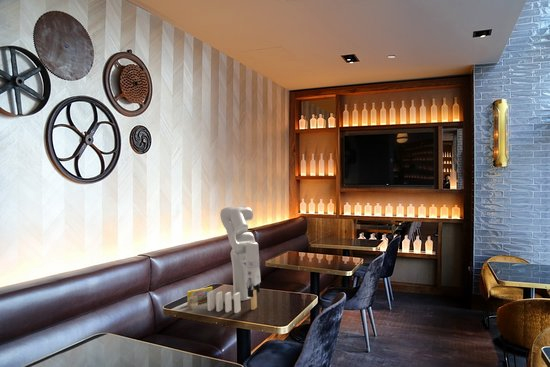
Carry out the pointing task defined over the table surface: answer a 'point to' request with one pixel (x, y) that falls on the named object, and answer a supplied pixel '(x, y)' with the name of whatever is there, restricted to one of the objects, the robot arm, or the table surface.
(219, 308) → the domino
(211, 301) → the domino
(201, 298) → the candy box
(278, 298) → the table surface
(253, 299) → the domino
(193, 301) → the end block
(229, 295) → the domino
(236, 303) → the domino
